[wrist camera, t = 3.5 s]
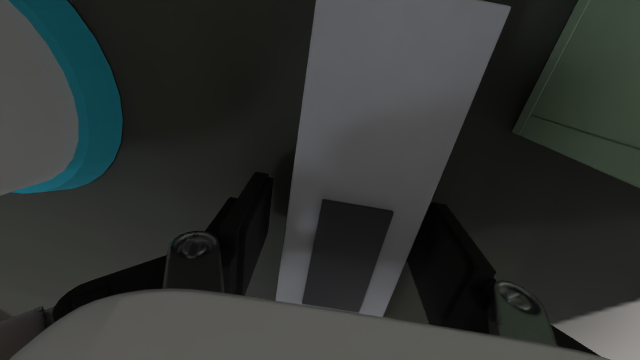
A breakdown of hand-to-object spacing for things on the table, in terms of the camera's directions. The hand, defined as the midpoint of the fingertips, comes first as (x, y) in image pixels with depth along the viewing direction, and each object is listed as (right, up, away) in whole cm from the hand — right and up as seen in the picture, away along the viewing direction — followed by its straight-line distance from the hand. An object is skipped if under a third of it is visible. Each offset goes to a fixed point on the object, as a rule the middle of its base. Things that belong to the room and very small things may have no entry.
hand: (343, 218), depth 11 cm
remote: (0, 0, +1) cm, 1 cm away
